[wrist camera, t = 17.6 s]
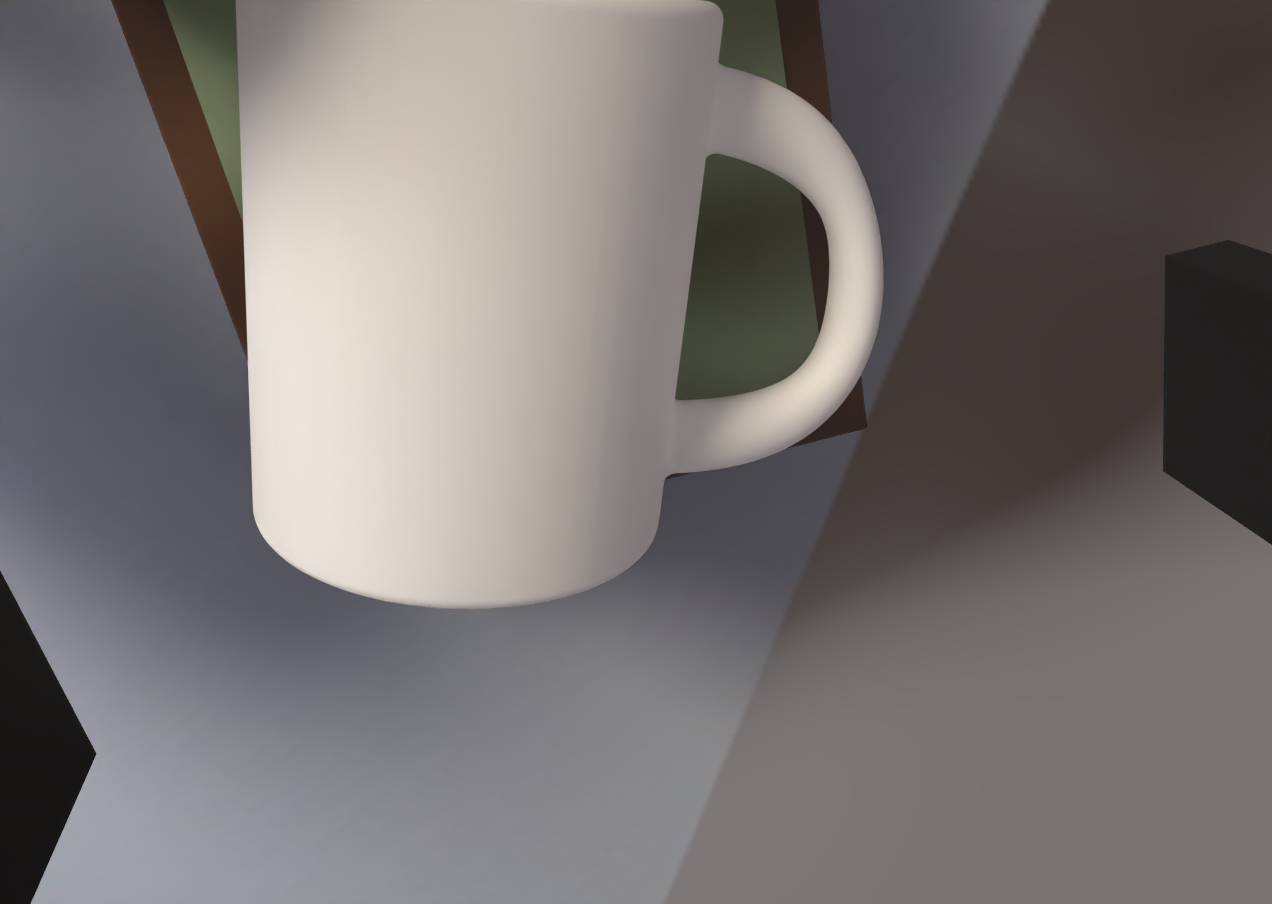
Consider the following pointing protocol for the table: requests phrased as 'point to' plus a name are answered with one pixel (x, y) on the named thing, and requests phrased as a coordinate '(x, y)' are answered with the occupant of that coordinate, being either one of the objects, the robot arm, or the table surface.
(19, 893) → the robot arm
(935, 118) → the table surface
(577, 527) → the mug
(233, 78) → the small table
